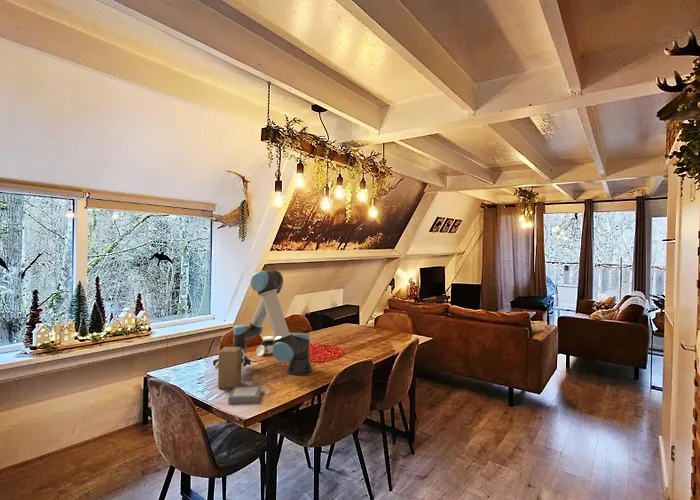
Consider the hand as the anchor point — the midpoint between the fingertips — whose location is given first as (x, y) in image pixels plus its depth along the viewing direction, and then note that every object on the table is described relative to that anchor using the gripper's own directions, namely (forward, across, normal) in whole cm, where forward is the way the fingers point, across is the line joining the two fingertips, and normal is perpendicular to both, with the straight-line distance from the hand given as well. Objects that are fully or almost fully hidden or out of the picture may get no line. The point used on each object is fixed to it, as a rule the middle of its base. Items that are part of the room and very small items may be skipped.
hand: (228, 367), depth 203 cm
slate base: (+14, -11, -11) cm, 21 cm away
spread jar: (-60, -13, -11) cm, 63 cm away
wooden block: (-3, 0, -11) cm, 12 cm away
